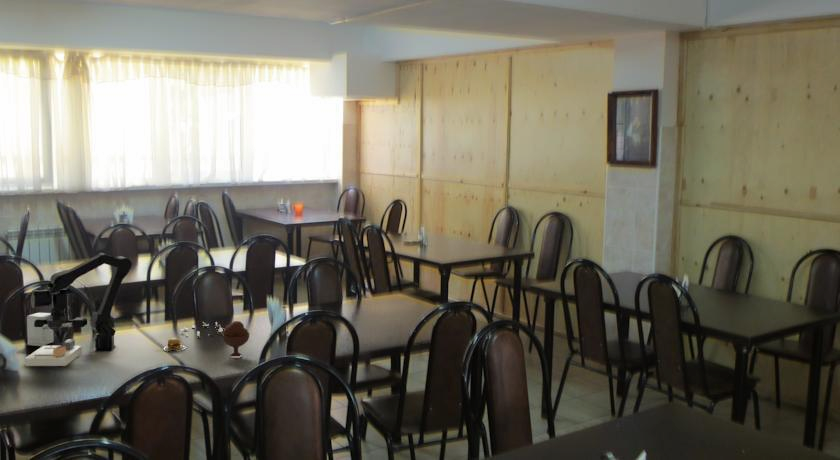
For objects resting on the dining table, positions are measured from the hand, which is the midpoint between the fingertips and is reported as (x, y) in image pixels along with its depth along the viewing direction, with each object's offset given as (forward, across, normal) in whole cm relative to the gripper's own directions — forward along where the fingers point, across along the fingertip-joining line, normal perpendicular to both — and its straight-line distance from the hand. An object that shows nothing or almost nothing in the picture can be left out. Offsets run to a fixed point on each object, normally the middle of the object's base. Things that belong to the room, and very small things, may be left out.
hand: (61, 343), depth 315 cm
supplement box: (+5, -15, +18) cm, 24 cm away
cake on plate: (+6, +42, +10) cm, 44 cm away
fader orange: (+2, +3, -10) cm, 11 cm away
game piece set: (+6, +48, +38) cm, 61 cm away
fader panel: (+5, -1, -5) cm, 7 cm away
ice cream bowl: (+5, +69, -1) cm, 69 cm away
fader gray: (+2, +3, 0) cm, 3 cm away
